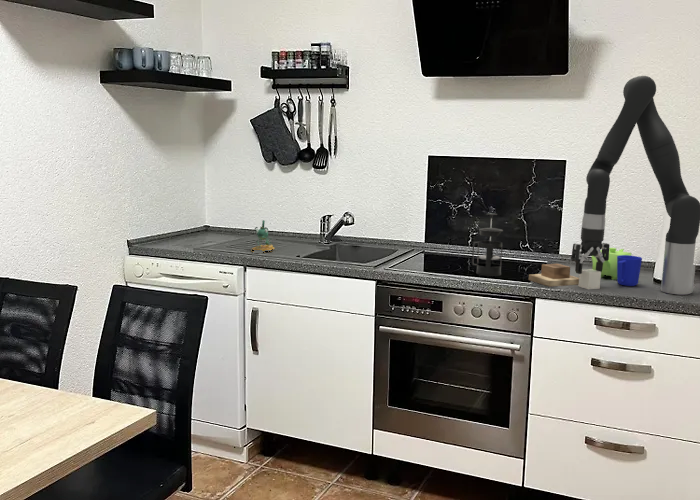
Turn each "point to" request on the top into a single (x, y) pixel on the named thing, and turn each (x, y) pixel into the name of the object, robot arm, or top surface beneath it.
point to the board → (553, 280)
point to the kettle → (610, 263)
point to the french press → (488, 251)
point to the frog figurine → (262, 235)
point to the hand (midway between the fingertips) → (588, 273)
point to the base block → (555, 271)
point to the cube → (590, 279)
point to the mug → (628, 270)
